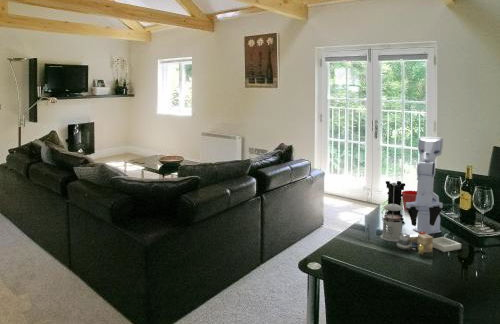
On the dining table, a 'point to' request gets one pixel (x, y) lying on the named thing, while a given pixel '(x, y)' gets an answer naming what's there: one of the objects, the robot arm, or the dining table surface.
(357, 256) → the dining table surface
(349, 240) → the dining table surface
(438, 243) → the tray
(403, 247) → the crank base
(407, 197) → the flower pot
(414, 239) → the crank
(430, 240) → the block
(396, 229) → the french press
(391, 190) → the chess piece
